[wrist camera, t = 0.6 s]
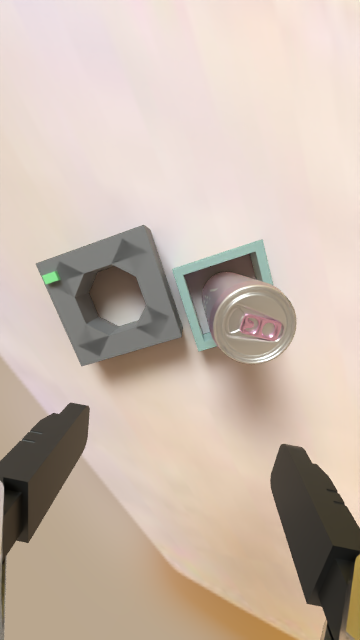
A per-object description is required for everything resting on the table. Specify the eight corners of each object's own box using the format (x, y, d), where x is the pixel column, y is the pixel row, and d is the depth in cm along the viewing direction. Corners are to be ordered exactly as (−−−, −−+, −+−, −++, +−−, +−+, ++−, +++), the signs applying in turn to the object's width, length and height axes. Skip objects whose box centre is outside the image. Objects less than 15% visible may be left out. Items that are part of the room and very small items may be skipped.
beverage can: (240, 322, 32) (281, 376, 17) (196, 311, 32) (200, 355, 17) (255, 278, 30) (313, 295, 16) (209, 266, 30) (225, 272, 16)
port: (150, 229, 29) (142, 224, 25) (182, 327, 32) (181, 338, 28) (55, 263, 31) (32, 263, 27) (94, 354, 34) (79, 368, 29)
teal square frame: (255, 241, 29) (262, 239, 26) (274, 321, 31) (283, 327, 28) (173, 268, 30) (172, 269, 27) (198, 343, 33) (198, 351, 30)
